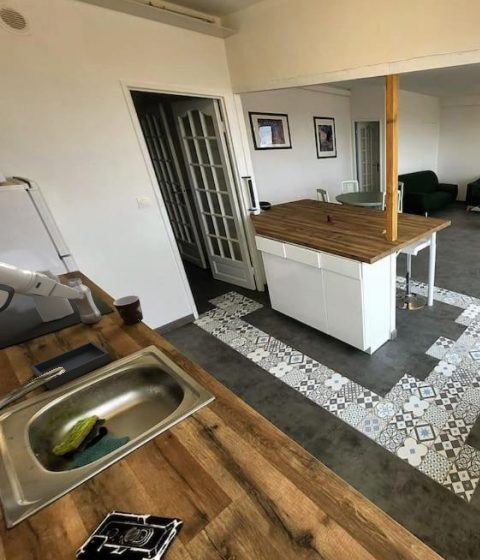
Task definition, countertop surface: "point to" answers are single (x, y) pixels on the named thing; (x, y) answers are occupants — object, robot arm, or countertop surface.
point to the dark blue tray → (73, 363)
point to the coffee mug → (129, 309)
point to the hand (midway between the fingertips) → (74, 295)
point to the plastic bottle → (85, 302)
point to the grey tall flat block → (52, 303)
